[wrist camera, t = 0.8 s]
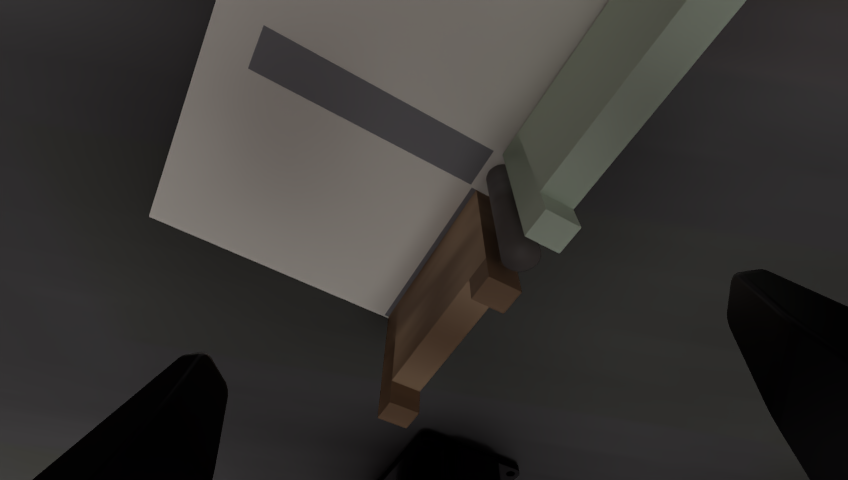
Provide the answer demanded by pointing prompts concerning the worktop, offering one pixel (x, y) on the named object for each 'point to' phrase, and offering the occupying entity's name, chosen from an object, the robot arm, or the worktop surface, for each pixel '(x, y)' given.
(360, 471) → the worktop surface
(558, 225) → the fence panel
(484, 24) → the card
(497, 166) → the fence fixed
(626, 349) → the worktop surface
